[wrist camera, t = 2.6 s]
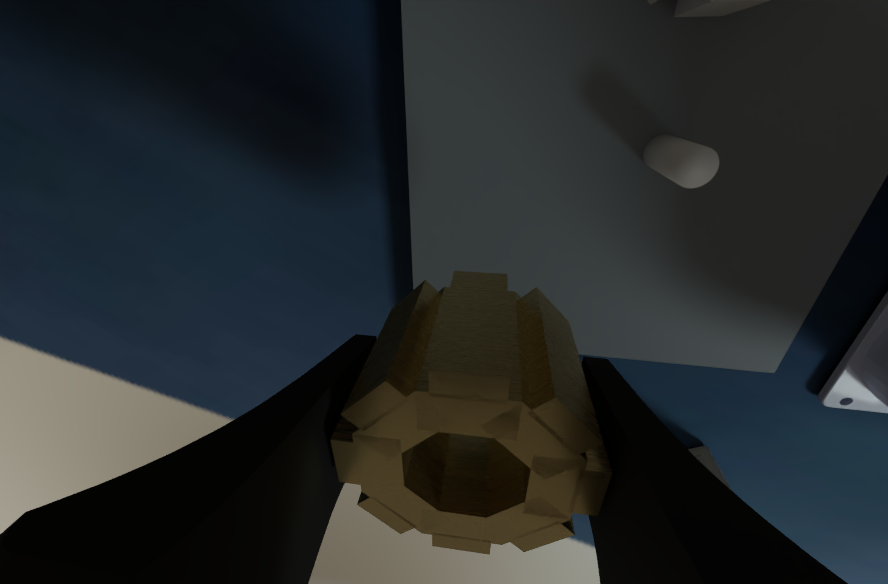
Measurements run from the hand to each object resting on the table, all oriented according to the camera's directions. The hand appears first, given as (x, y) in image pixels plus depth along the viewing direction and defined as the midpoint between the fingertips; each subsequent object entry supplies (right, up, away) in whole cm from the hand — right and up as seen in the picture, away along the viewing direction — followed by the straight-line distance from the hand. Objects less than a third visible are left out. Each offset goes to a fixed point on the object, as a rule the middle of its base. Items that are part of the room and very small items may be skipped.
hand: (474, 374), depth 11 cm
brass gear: (0, 0, +1) cm, 1 cm away
